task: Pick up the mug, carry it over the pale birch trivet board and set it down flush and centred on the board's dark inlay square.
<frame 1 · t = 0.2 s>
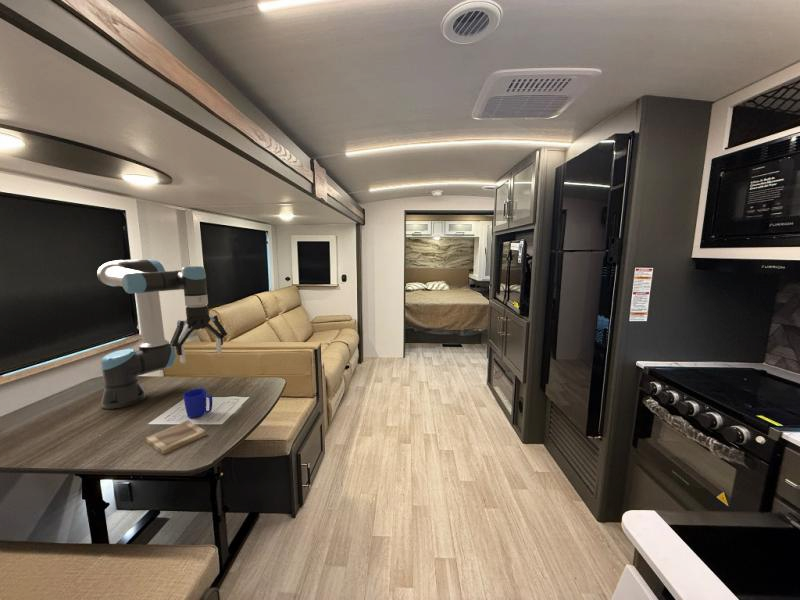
hand: (202, 357, 125), 26 cm above the table, fingers open, 13 cm apart
mug: (201, 415, 131), on the table
trivet: (176, 437, 115), on the table
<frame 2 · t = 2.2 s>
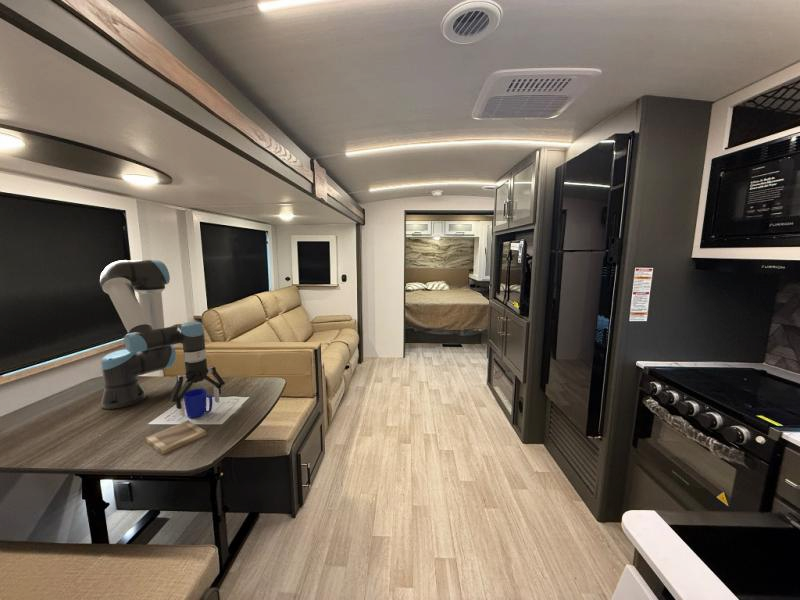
hand: (200, 408, 130), 3 cm above the table, fingers open, 13 cm apart
nothing on the table moved.
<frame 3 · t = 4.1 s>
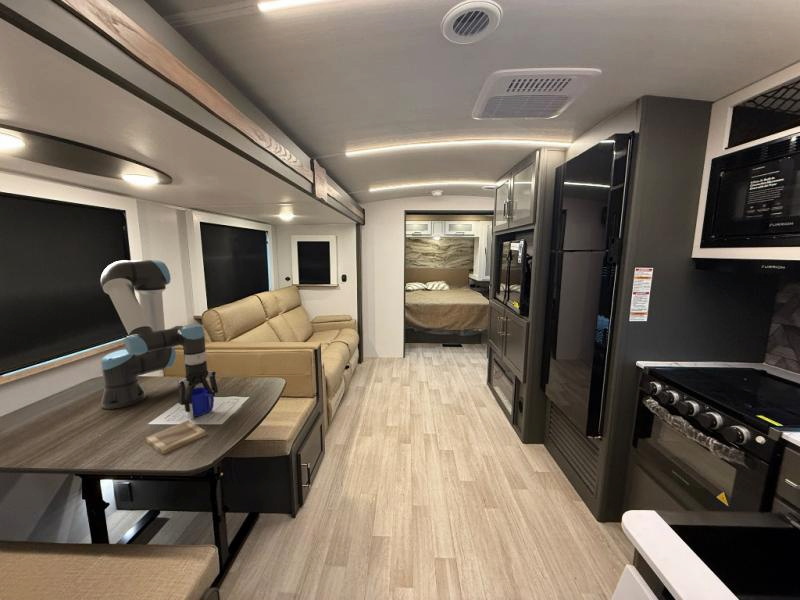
hand: (200, 414, 131), 1 cm above the table, fingers closed on mug, 7 cm apart
mug: (202, 414, 132), on the table, touching gripper
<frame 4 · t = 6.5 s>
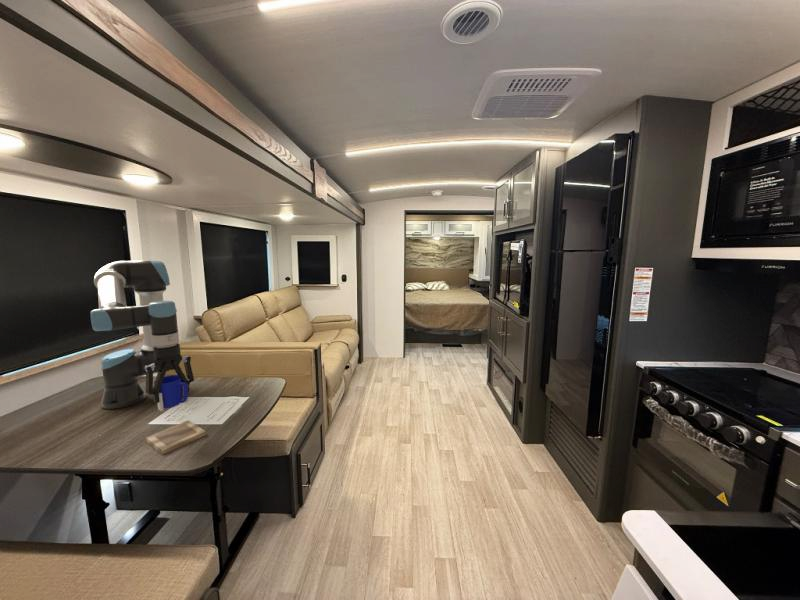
hand: (173, 405, 113), 13 cm above the table, fingers closed on mug, 7 cm apart
mug: (175, 406, 114), point 12 cm above the table, touching gripper
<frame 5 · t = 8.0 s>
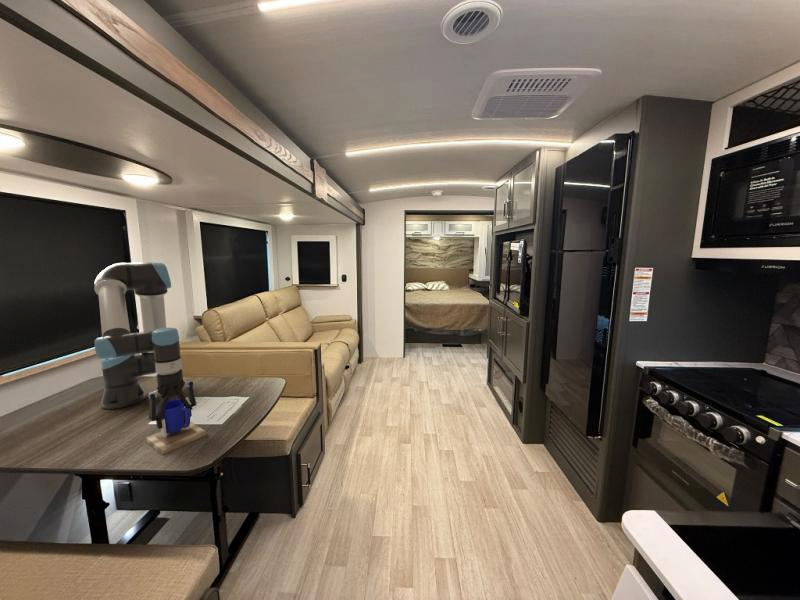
hand: (175, 430, 114), 3 cm above the table, fingers closed on mug, 7 cm apart
mug: (177, 430, 115), point 2 cm above the table, touching gripper
when the fingers open (2 cm above the table, at t = 9.0 s): mug stays where it is, resting on trivet.
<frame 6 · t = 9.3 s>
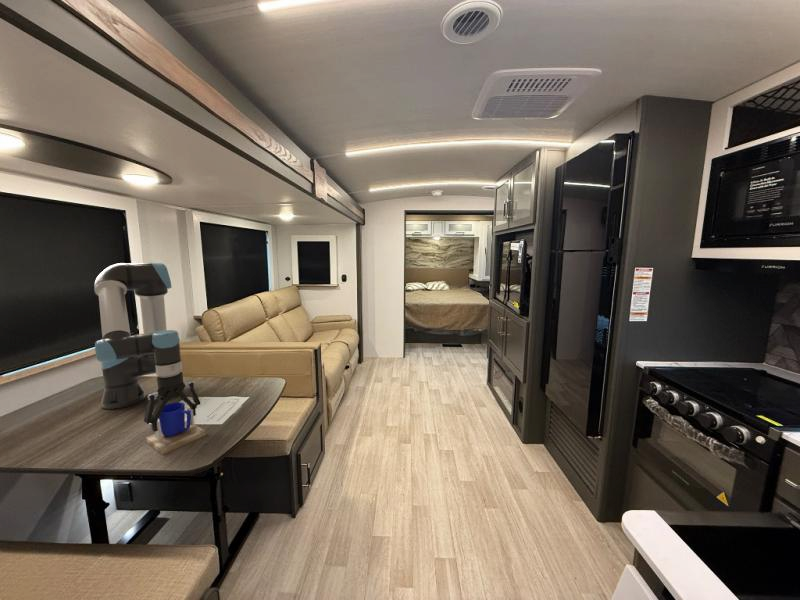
hand: (176, 431, 115), 3 cm above the table, fingers open, 10 cm apart
mug: (178, 433, 115), point 1 cm above the table, touching trivet
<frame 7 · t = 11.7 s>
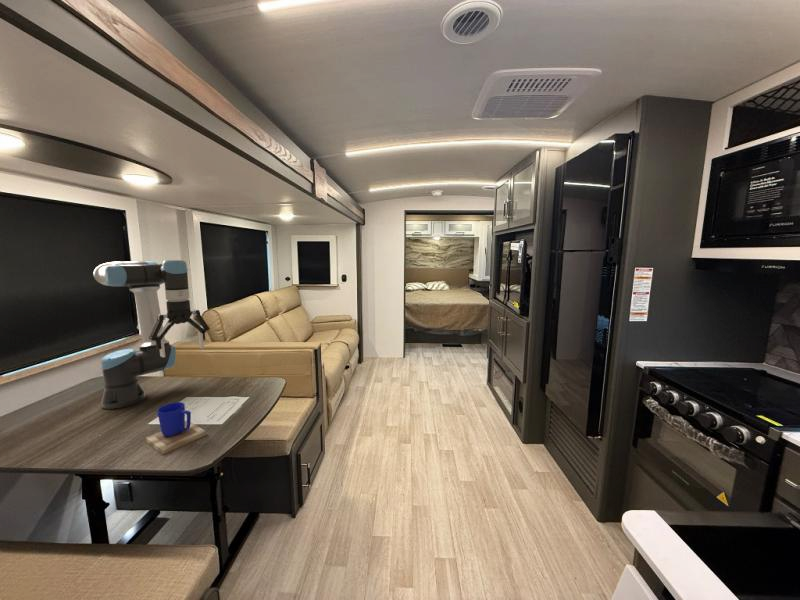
hand: (182, 352, 125), 28 cm above the table, fingers open, 13 cm apart
nothing on the table moved.
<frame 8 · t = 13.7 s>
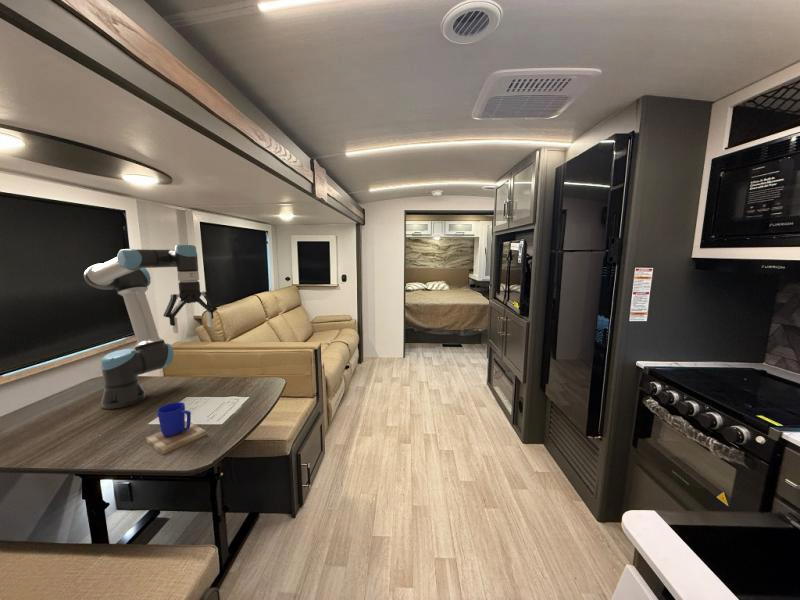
hand: (193, 329, 136), 35 cm above the table, fingers open, 13 cm apart
nothing on the table moved.
at the end: mug inside the target area on the trivet (0.7 cm from its centre), point 1.4 cm above the trivet's base; mug tilted 0°; mug touching trivet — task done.
